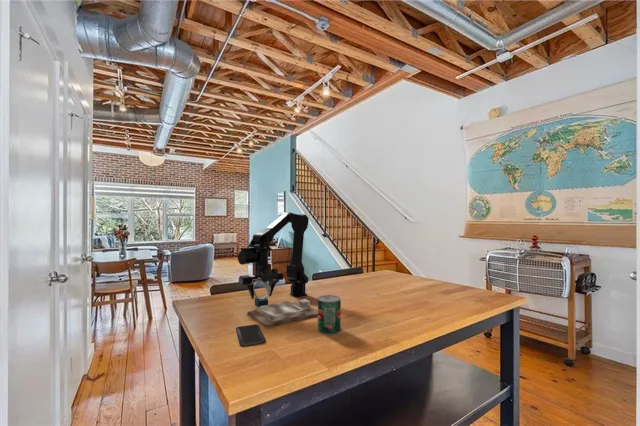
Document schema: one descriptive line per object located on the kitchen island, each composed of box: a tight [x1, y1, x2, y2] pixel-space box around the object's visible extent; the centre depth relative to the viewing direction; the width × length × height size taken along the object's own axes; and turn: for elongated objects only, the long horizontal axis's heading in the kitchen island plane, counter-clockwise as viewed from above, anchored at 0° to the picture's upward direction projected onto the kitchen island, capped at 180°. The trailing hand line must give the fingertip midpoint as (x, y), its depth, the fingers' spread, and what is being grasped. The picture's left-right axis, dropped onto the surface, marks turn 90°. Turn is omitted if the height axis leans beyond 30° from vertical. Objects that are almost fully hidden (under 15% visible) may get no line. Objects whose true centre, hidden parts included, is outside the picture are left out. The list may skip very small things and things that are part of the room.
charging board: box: [247, 298, 318, 329], centre depth 119 cm, size 24×18×4 cm
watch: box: [253, 280, 271, 308], centre depth 131 cm, size 6×8×11 cm
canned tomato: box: [317, 294, 342, 336], centre depth 103 cm, size 8×8×11 cm
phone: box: [235, 324, 267, 348], centre depth 99 cm, size 8×1×15 cm
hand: (261, 297), depth 131 cm, fingers closed on watch, 8 cm apart
